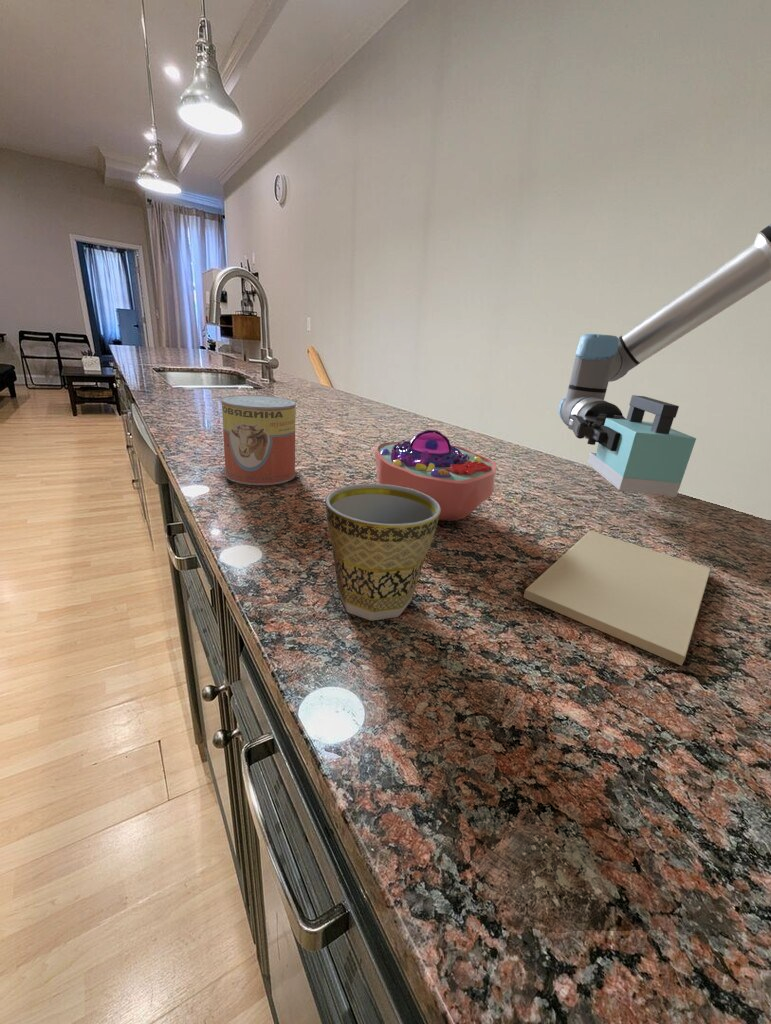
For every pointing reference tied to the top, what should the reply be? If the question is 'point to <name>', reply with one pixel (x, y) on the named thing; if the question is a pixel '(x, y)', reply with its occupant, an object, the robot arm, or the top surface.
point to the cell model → (437, 472)
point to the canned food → (259, 439)
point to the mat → (626, 593)
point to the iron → (645, 450)
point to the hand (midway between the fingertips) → (645, 445)
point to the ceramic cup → (379, 545)
